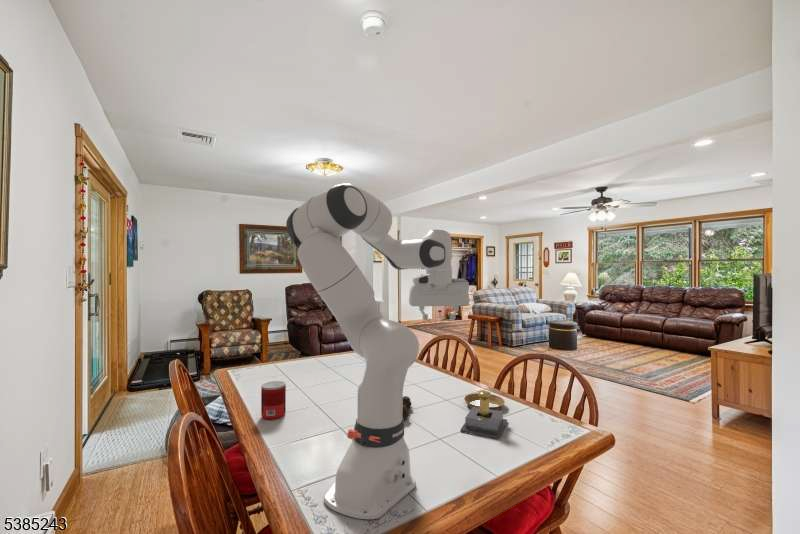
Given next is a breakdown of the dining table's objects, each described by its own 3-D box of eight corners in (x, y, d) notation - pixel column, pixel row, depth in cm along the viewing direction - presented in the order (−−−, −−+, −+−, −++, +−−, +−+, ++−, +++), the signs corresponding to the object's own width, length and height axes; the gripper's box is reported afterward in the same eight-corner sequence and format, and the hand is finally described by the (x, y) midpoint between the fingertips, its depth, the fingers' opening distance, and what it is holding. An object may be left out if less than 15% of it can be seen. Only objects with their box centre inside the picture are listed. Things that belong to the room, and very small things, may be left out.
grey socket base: (499, 439, 110) (499, 426, 110) (460, 431, 115) (460, 419, 115) (507, 421, 123) (507, 409, 123) (471, 415, 128) (471, 404, 128)
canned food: (289, 415, 127) (289, 384, 127) (268, 422, 121) (268, 389, 121) (278, 409, 132) (278, 379, 132) (257, 416, 127) (257, 384, 127)
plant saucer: (513, 411, 132) (513, 404, 132) (477, 416, 127) (477, 409, 127) (489, 397, 146) (489, 391, 146) (457, 402, 141) (457, 395, 141)
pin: (491, 429, 117) (491, 395, 117) (479, 429, 117) (479, 394, 117) (489, 424, 121) (489, 390, 121) (477, 423, 121) (477, 390, 121)
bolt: (408, 410, 137) (402, 425, 123) (396, 402, 138) (389, 417, 123) (416, 397, 137) (410, 411, 122) (404, 389, 138) (397, 402, 123)
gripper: (466, 278, 128) (466, 317, 128) (408, 278, 126) (408, 318, 125) (471, 278, 122) (471, 320, 121) (410, 278, 119) (410, 321, 119)
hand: (438, 319), depth 123 cm, fingers open, 8 cm apart
